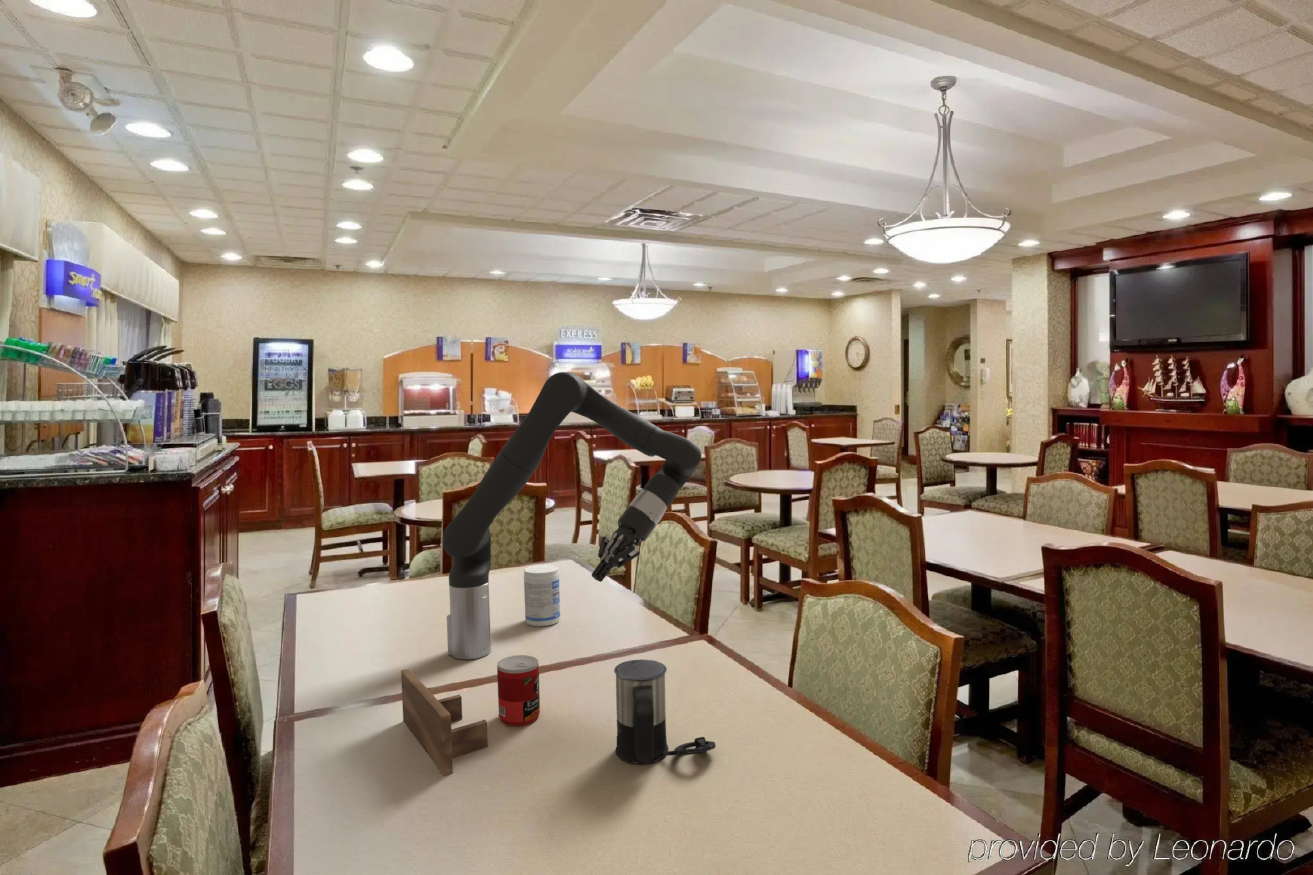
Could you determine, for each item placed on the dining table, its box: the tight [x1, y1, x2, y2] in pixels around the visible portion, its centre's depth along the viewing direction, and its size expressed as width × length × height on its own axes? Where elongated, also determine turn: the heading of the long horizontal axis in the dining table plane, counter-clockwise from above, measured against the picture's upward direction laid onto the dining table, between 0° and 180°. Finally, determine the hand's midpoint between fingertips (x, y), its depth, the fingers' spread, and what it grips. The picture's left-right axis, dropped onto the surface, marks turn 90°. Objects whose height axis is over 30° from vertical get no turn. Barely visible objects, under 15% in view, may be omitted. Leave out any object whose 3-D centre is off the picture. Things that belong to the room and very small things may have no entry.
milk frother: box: [613, 659, 717, 765], centre depth 122 cm, size 14×16×15 cm
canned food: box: [496, 654, 541, 727], centre depth 137 cm, size 8×8×11 cm
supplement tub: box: [523, 564, 561, 627], centre depth 194 cm, size 10×10×15 cm
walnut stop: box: [400, 668, 489, 776], centre depth 129 cm, size 10×24×10 cm, turn 35°
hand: (595, 578), depth 151 cm, fingers closed
